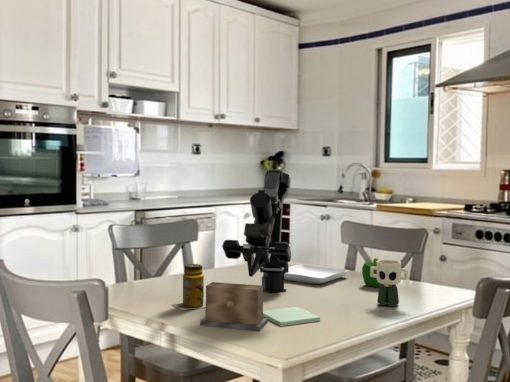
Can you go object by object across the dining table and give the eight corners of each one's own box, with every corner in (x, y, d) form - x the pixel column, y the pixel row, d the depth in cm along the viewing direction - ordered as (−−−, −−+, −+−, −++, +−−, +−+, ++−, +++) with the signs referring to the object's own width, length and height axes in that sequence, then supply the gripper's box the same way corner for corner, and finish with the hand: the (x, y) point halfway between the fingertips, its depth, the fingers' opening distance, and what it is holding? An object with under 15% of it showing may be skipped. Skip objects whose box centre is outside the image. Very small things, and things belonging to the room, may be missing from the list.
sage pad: (296, 310, 163) (297, 306, 163) (320, 320, 153) (320, 317, 153) (259, 314, 158) (259, 311, 158) (280, 326, 147) (280, 322, 147)
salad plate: (300, 271, 224) (300, 262, 224) (350, 278, 211) (350, 269, 211) (270, 280, 206) (270, 270, 206) (322, 288, 194) (322, 278, 194)
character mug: (367, 305, 169) (368, 262, 168) (371, 300, 176) (372, 258, 175) (405, 309, 165) (406, 264, 165) (408, 303, 172) (409, 261, 171)
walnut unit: (199, 325, 147) (200, 286, 147) (210, 317, 155) (211, 280, 154) (259, 330, 143) (260, 291, 142) (267, 322, 151) (268, 284, 150)
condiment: (209, 307, 166) (209, 266, 165) (182, 311, 161) (182, 268, 161) (197, 301, 172) (197, 262, 172) (171, 305, 167) (171, 264, 167)
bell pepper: (363, 282, 202) (363, 254, 202) (386, 284, 200) (387, 255, 199) (360, 287, 194) (360, 258, 194) (385, 289, 192) (385, 259, 191)
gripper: (224, 211, 161) (210, 256, 151) (289, 213, 155) (279, 260, 145) (233, 235, 169) (220, 279, 159) (295, 238, 163) (286, 284, 153)
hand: (250, 275), depth 154 cm, fingers closed
